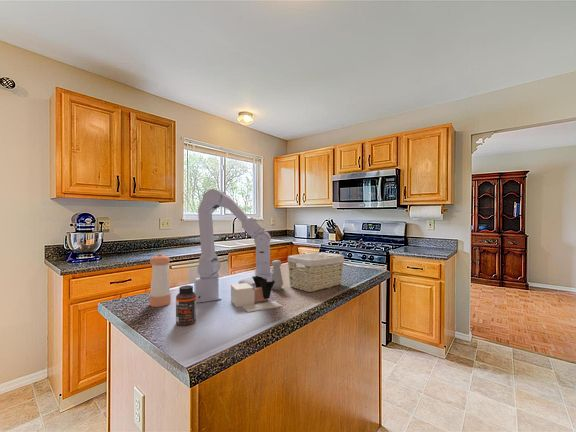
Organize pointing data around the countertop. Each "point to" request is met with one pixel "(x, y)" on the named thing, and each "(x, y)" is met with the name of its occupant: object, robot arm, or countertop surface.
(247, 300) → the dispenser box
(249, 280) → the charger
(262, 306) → the mat
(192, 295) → the supplement bottle
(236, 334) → the countertop surface
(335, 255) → the storage basket
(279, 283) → the salt shaker
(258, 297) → the pink rectangular block
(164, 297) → the salt shaker
